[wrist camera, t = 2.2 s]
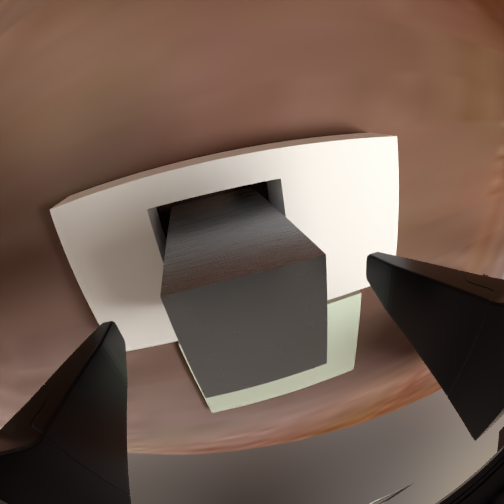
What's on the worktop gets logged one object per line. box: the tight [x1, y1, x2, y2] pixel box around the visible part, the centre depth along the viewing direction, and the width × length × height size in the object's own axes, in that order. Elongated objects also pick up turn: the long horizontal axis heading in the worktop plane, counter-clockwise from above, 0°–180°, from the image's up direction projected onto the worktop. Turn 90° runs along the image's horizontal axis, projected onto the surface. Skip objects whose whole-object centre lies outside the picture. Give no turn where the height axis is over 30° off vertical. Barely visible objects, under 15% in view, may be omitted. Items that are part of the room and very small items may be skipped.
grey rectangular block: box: [160, 187, 327, 398], centre depth 11 cm, size 4×4×8 cm
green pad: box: [179, 290, 361, 413], centre depth 19 cm, size 12×8×1 cm, turn 99°
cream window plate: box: [50, 133, 399, 351], centre depth 13 cm, size 16×8×2 cm, turn 99°
